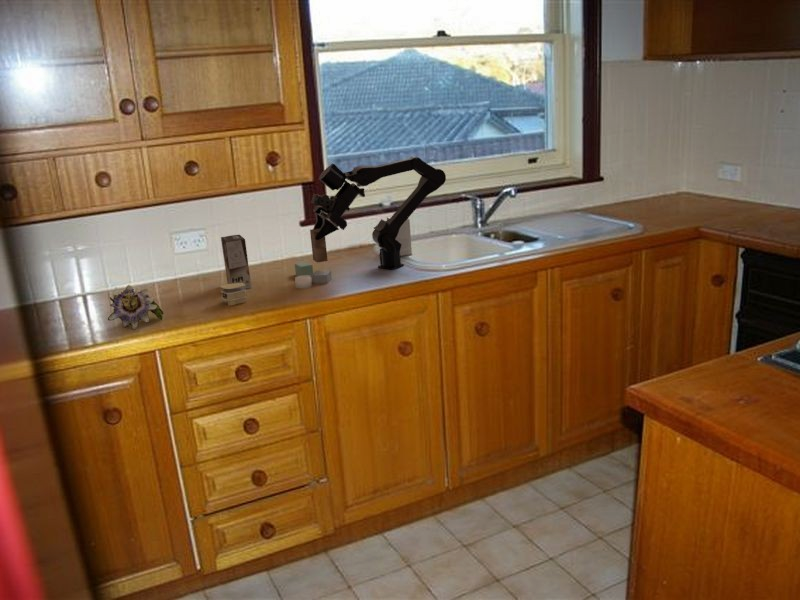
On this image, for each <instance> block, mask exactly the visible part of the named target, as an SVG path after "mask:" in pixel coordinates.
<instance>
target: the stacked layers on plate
mask: <svg viewBox="0 0 800 600" xmlns="http://www.w3.org/2000/svg"><path fill="white" fill-rule="evenodd" d="M241 286H246V285H245V284H244V283H234V284H228V283H225V284H222V285H220V286H219V287H220V288H222V289H220V292H221V294H222V296H221V299H223V300H225V301H227V306H235V305H237V304H243V303H247V302H248V301H247V298H248V295H247V294H246V291H247V289H245V288H244V287H241Z"/></svg>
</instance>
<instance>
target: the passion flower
mask: <svg viewBox="0 0 800 600" xmlns="http://www.w3.org/2000/svg"><path fill="white" fill-rule="evenodd" d="M148 293H149V288H144V289H142V290H140V291H135V290H134V288H133V286H132V285H130V284H127V285H126V287H125V289H124V290H123V291H121V293H118V294H113V297H111V296H110V297H109V300H110V301H111V302H112V303H110V304H109V306H110V307H111V308H113V311H112V313H111V314H110V315H109V316H108V317H107V320H108V321H115V320H117V319H118V318H119V319H120V321H121V325H122V327H123V329H124V328H126V327H129V326H130V327H131V329H132V330H136V329H137V328H138V325H139V321H142V322H144V323H146V324H147V323H149V321H150V318H149V317H150V316H149V312H151V313H152V314H154V315H155V316H156V317H157V318H158V319H159V320H160V321H162V320H163V315H164V314H165V313H164V311H163V309H161V308H160V306H159V304H158V303H157V302H155V300H156V299H155V296H149V294H148Z"/></svg>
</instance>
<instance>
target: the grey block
mask: <svg viewBox="0 0 800 600" xmlns="http://www.w3.org/2000/svg"><path fill="white" fill-rule="evenodd" d="M332 278H333V275H332V270H316V271H315V272H313V275H312V276H311V283H312V285H313V284H316V285H317V284H329V283H330V282H331V281H332V280H333V279H332Z"/></svg>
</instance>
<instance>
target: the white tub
mask: <svg viewBox="0 0 800 600" xmlns="http://www.w3.org/2000/svg"><path fill="white" fill-rule="evenodd" d="M294 281H295V283H294V284H295V288H296V289H303V290H304V289H309V288H312V287H313V286H312V285H313V282H312V276H310V275H301V276H297V275H296V276H295V277H294Z"/></svg>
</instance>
